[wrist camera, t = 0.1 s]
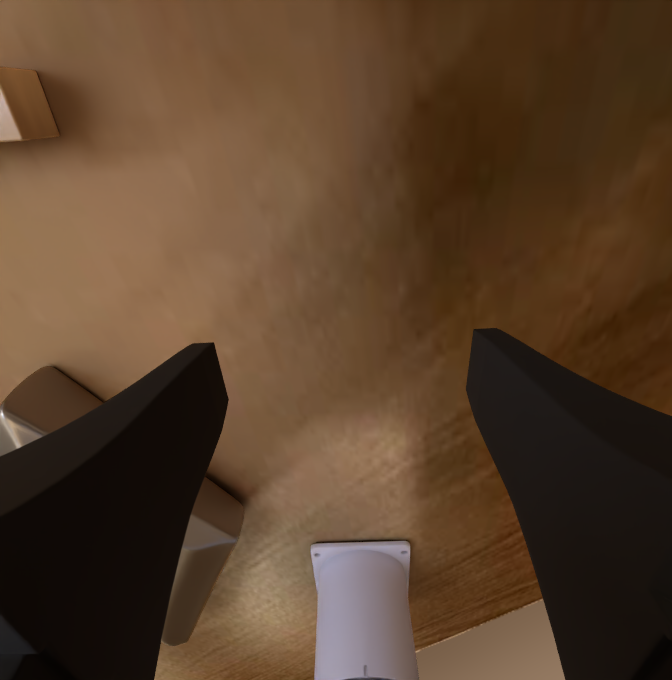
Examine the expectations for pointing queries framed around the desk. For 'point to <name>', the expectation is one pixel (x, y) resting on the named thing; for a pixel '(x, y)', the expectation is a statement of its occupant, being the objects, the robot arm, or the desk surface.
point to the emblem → (206, 518)
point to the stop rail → (24, 107)
